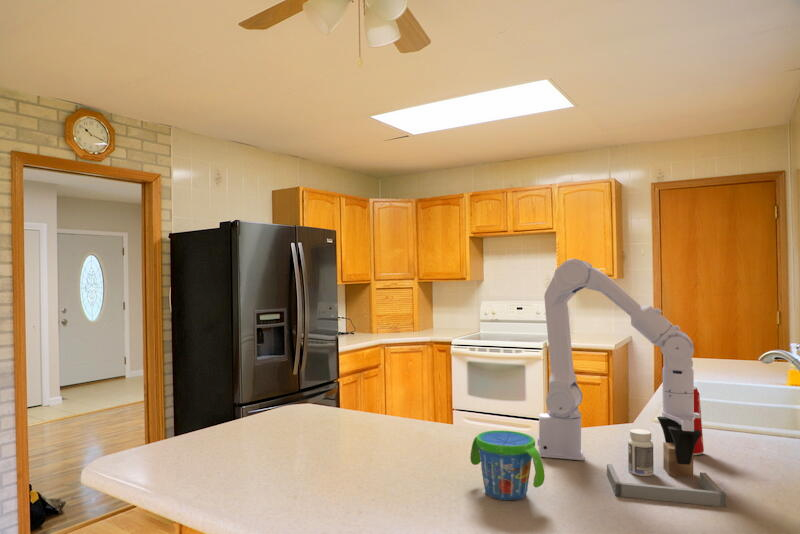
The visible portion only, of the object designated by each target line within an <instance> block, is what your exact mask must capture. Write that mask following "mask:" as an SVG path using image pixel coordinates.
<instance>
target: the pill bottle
mask: <svg viewBox="0 0 800 534" xmlns="http://www.w3.org/2000/svg"><path fill="white" fill-rule="evenodd" d="M629 437H630V439H628V441H627V444H628V446H627V448H628V449H627V450H628V451H627V453H628V455H627V457H628V458H627V459H628V460H627V461H628V462H627V464H628V465H627V466H628V467H627V468H628V472H629V473H630V474H633V475H634V476H640V477H650V476H653V475H654V443H653V442H652V441H651V440H652V432H651V431H649V430H647V429H641V428H640V429H639V428H634V429H630V430H629Z"/></svg>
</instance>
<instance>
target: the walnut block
mask: <svg viewBox="0 0 800 534" xmlns="http://www.w3.org/2000/svg"><path fill="white" fill-rule="evenodd" d="M662 445H663V451H662V453H663V454H662V456H663V457H662V459H663V462H662V464H663V466H662V467H663V471H665V472H666V474H667V475H668V476H669V477H678V478H690V479H694V455H692V459H691V462H690V465H686V464H678V462H677V458H676V453H675V446H674V443H667V442H665V441H664V442H663V443H662Z"/></svg>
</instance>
